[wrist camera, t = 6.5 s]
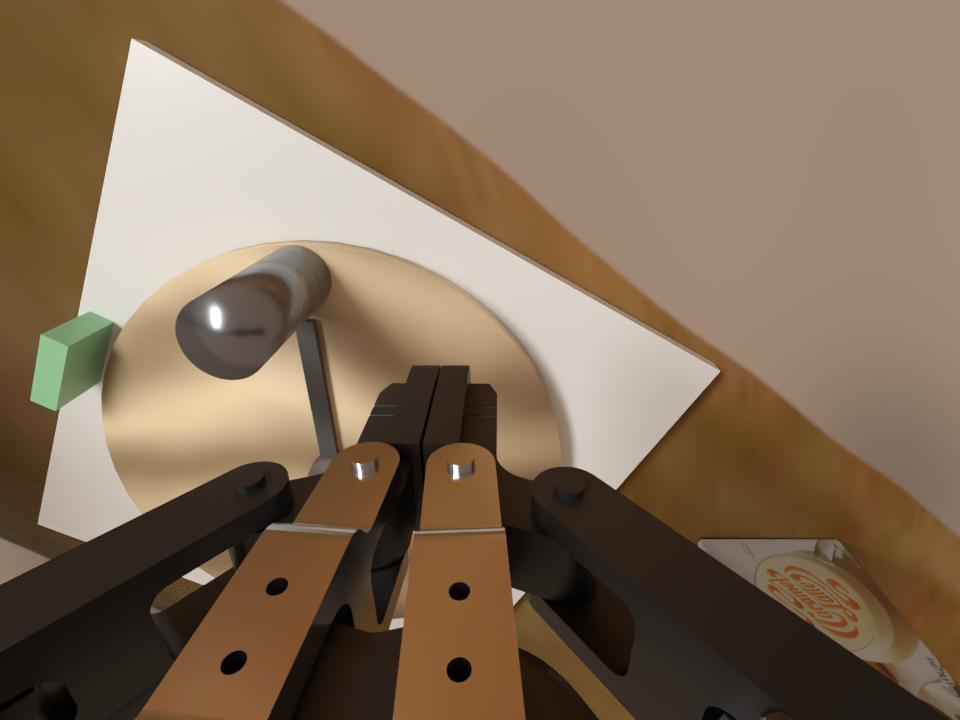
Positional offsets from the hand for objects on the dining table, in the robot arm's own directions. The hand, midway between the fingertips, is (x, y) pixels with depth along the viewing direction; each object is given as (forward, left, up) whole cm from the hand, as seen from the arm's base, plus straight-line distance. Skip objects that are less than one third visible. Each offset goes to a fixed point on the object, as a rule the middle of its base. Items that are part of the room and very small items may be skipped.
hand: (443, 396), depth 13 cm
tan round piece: (-1, -13, -11) cm, 17 cm away
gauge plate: (-1, -13, -13) cm, 18 cm away
